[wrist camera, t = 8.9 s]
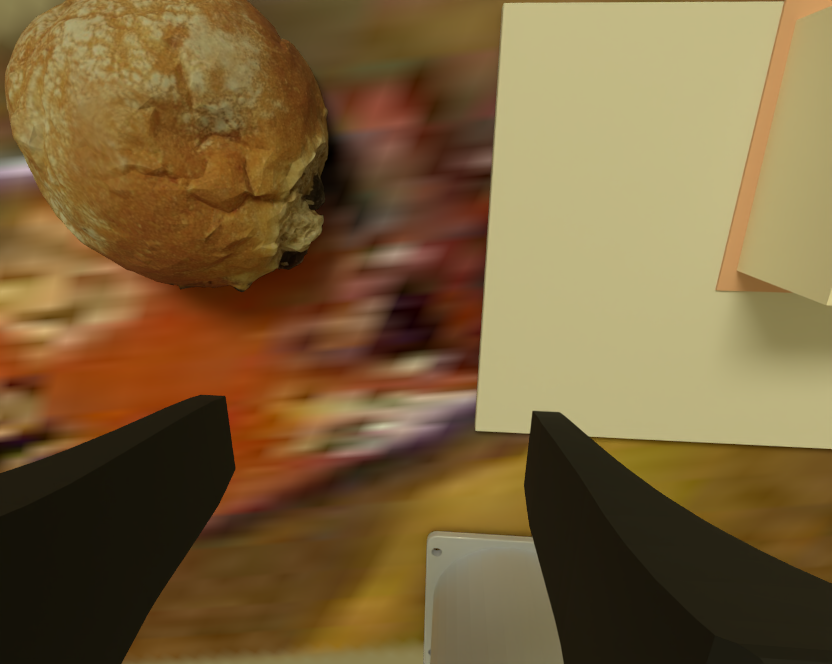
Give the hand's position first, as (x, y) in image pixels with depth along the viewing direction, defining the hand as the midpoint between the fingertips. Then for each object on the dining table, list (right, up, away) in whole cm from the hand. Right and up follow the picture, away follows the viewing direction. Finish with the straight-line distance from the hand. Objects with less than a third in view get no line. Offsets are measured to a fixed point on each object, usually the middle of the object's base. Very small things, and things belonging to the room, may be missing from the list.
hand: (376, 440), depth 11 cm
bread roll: (-7, +10, +8) cm, 14 cm away
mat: (+12, +6, +7) cm, 15 cm away
